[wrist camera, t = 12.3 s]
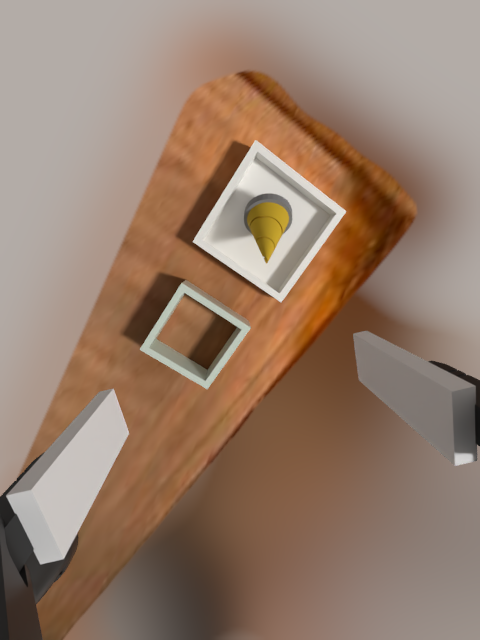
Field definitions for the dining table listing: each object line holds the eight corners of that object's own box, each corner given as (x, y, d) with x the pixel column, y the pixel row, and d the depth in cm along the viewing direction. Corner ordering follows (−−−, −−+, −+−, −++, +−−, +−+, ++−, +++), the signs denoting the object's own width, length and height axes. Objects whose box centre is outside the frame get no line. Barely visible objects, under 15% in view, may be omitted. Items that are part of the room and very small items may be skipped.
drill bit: (297, 207, 34) (301, 272, 29) (257, 222, 36) (253, 284, 31) (281, 168, 30) (282, 236, 25) (237, 188, 32) (230, 253, 27)
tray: (277, 299, 36) (281, 302, 34) (194, 242, 34) (192, 241, 32) (338, 214, 34) (346, 211, 32) (253, 148, 32) (255, 139, 30)
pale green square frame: (209, 377, 39) (207, 389, 35) (147, 340, 37) (139, 349, 34) (248, 320, 37) (250, 327, 34) (186, 279, 35) (181, 282, 32)
